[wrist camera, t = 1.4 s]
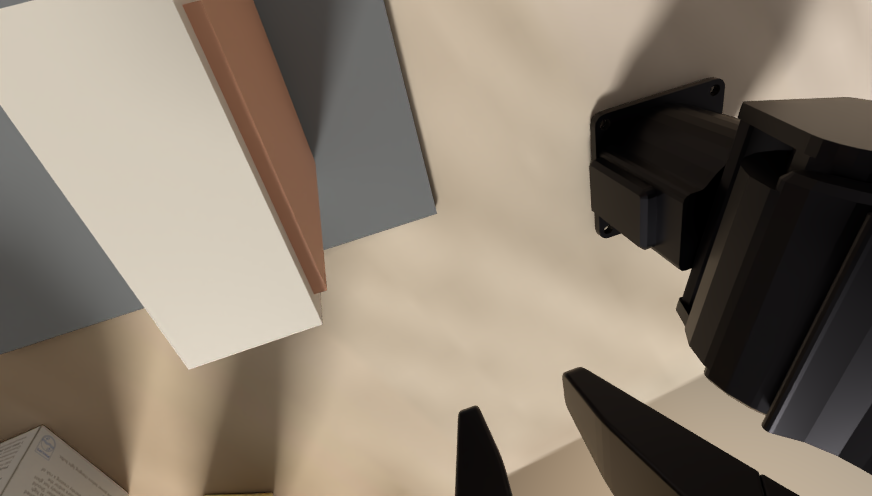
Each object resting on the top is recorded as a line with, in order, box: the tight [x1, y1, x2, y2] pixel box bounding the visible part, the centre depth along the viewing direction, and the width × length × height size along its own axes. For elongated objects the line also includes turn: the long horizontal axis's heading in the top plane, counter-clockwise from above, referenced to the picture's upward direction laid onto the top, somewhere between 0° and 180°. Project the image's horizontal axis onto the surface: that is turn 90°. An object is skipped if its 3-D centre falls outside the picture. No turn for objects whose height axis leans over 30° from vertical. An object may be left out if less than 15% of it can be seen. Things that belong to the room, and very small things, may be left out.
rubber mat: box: [0, 0, 437, 354], centre depth 17 cm, size 19×14×1 cm
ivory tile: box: [0, 0, 327, 370], centre depth 13 cm, size 3×7×10 cm, turn 12°
